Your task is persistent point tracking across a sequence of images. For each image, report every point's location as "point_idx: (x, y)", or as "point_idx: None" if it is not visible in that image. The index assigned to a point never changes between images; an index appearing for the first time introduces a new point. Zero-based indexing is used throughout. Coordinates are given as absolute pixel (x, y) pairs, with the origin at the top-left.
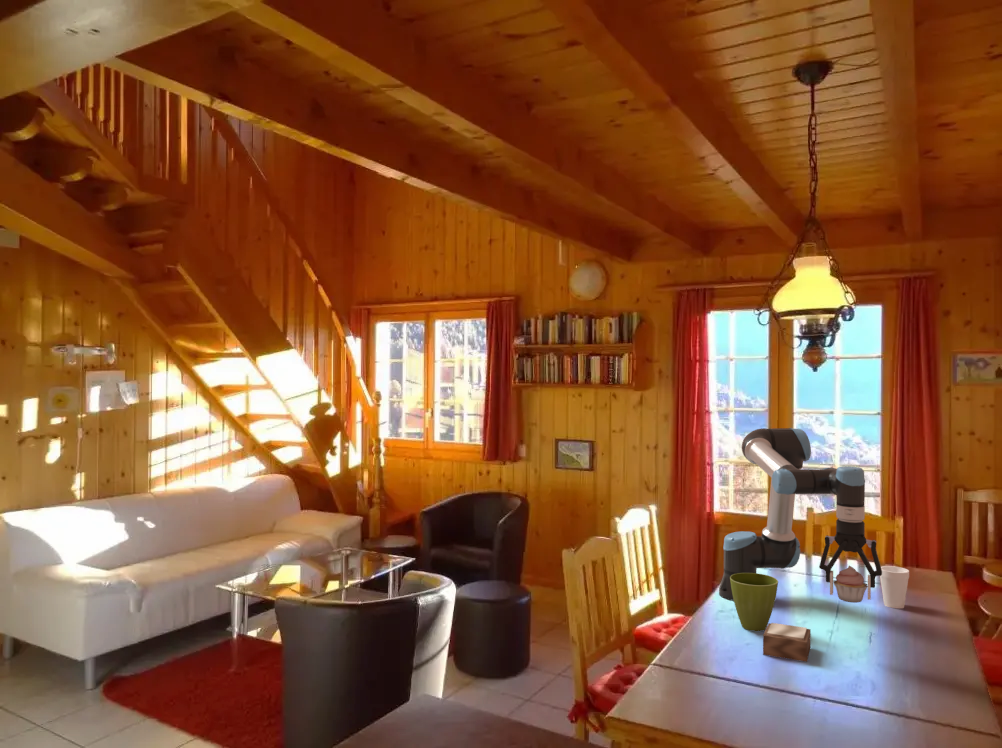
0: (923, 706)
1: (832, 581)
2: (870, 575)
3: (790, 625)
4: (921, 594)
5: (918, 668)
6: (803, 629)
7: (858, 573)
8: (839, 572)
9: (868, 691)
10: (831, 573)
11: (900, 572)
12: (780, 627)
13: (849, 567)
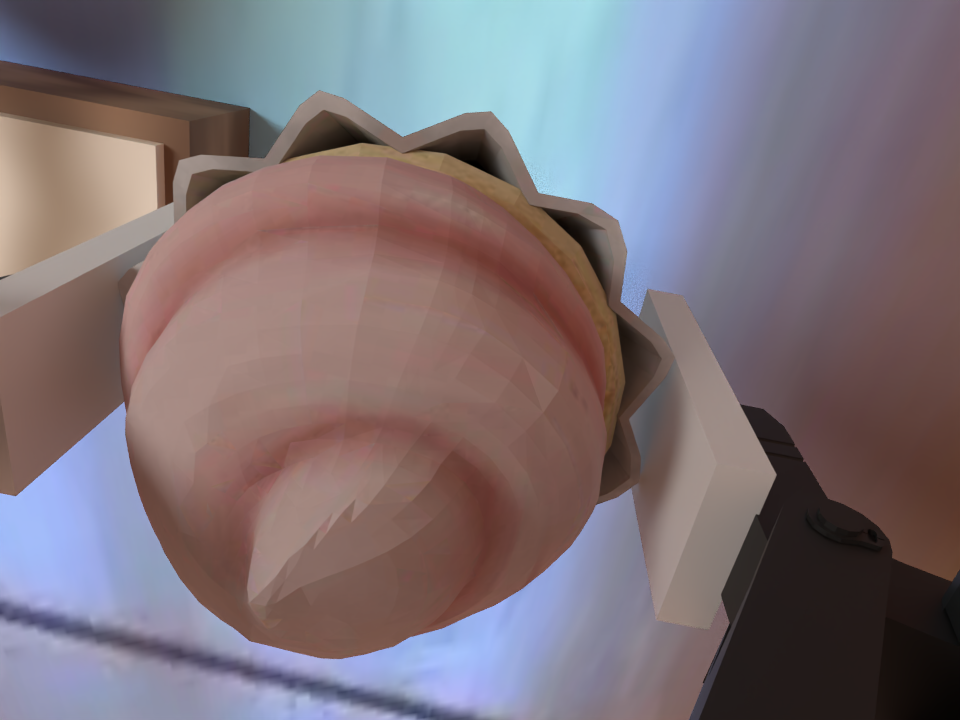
0: (681, 683)
1: (113, 405)
2: (719, 647)
3: (34, 122)
4: None
5: (851, 283)
6: (138, 196)
7: (507, 511)
8: (131, 425)
9: (498, 605)
10: (2, 481)
11: None
12: None
13: (274, 637)
